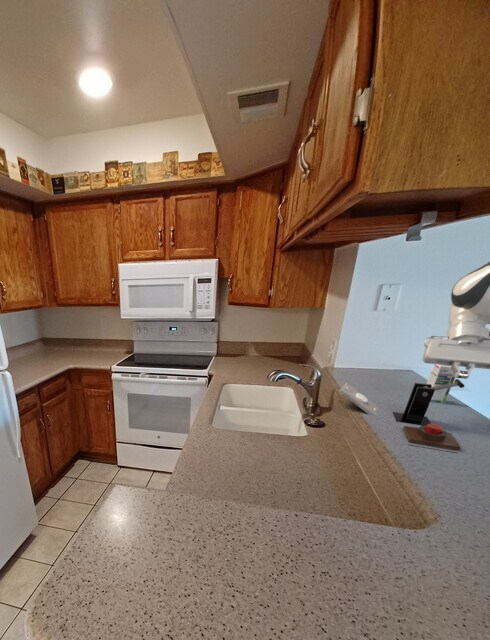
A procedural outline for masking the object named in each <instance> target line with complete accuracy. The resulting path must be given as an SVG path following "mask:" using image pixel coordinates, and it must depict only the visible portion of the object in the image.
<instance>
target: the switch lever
mask: <svg viewBox="0 0 490 640" xmlns="http://www.w3.org/2000/svg"><path fill="white" fill-rule="evenodd" d="M423 387H425V388H428V387H427V386H423ZM450 387H451V388H454V387H455V388H456V387H459V388H460V389H463V388H464V387H465V384H464V383H463V382H462V381H461V380H460V378H455V379H454V382H453V383H449V384H445V385H440V386H436V387H431V388H434V389H435V391H436V390H441V389H446V388H450ZM416 390H417V388H416Z"/></svg>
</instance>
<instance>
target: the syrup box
mask: <svg viewBox="0 0 490 640" xmlns="http://www.w3.org/2000/svg"><path fill="white" fill-rule="evenodd" d="M455 380H456V378H455V373H454V372H453V370H452V369H451V365H440V364H433V365H432V369H431V371H430V374H429V376H428V379H427V382H426V384H431V385H432V387H436V386H440V385H445V384H449V383H454V381H455ZM451 389H452V387H450V388H446V389H441V390H436V391H434V394H433V396H432V399H431V401H430V403H433V404H442V405H445V403H446V400H447V399H448V396H449V394H450V391H451Z"/></svg>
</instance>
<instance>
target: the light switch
mask: <svg viewBox="0 0 490 640" xmlns="http://www.w3.org/2000/svg"><path fill="white" fill-rule="evenodd" d="M339 393H341V394H342V395H343V396H344V397H345V398H347V399H348V400H349V401H351V402H352V403H353V404H355V405H356V406H357V407H358V408H360V409H361V410H362V411H364V412H365V414H367V415H369V416H373V417H374V416H377V414H378V412H379V411H380V409H381V408H380V407H379V406H378V405H377V404H375V403H374V402H372V401H371V400H370V399H369V398H367V397H366V396H365V395H364V394H362V393H360V392H359V391H358V390H357V389H355V388H354V387H353V386H352V385H350V384H349V383H348V382H346V383H345V384H343V386H341V388H340V389H339Z"/></svg>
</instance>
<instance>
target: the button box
mask: <svg viewBox="0 0 490 640" xmlns="http://www.w3.org/2000/svg"><path fill="white" fill-rule="evenodd" d="M426 427H427V425H426V426H422V425H420V426H419V427H415V426H407V425H403V428H402V431H403V433H404V435H405V438H406V440H407V442H408V443H410V444H406V446H410V447H411V446H412V447H418V448H421V449H422V448H423V449H429V450H435V451H441V452H447V453H450V454H451V453H452V454H457V452H458V451H460V449H461V446H460V444H459V443H458V441H457V439H456V438H455V437H454V435H453V434H452V432H447V431H446V430H445V429H442V431H441V433H440V434H434V433H430V432H428V431H426V430H425V429H426ZM414 444H416V445H414ZM418 445H422V446H418ZM425 446H427V447H425ZM431 447H434V448H431ZM437 448H438V449H437ZM439 448H441V449H439ZM443 449H446V450H443ZM449 450H450V451H449ZM455 451H457V452H455Z"/></svg>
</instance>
